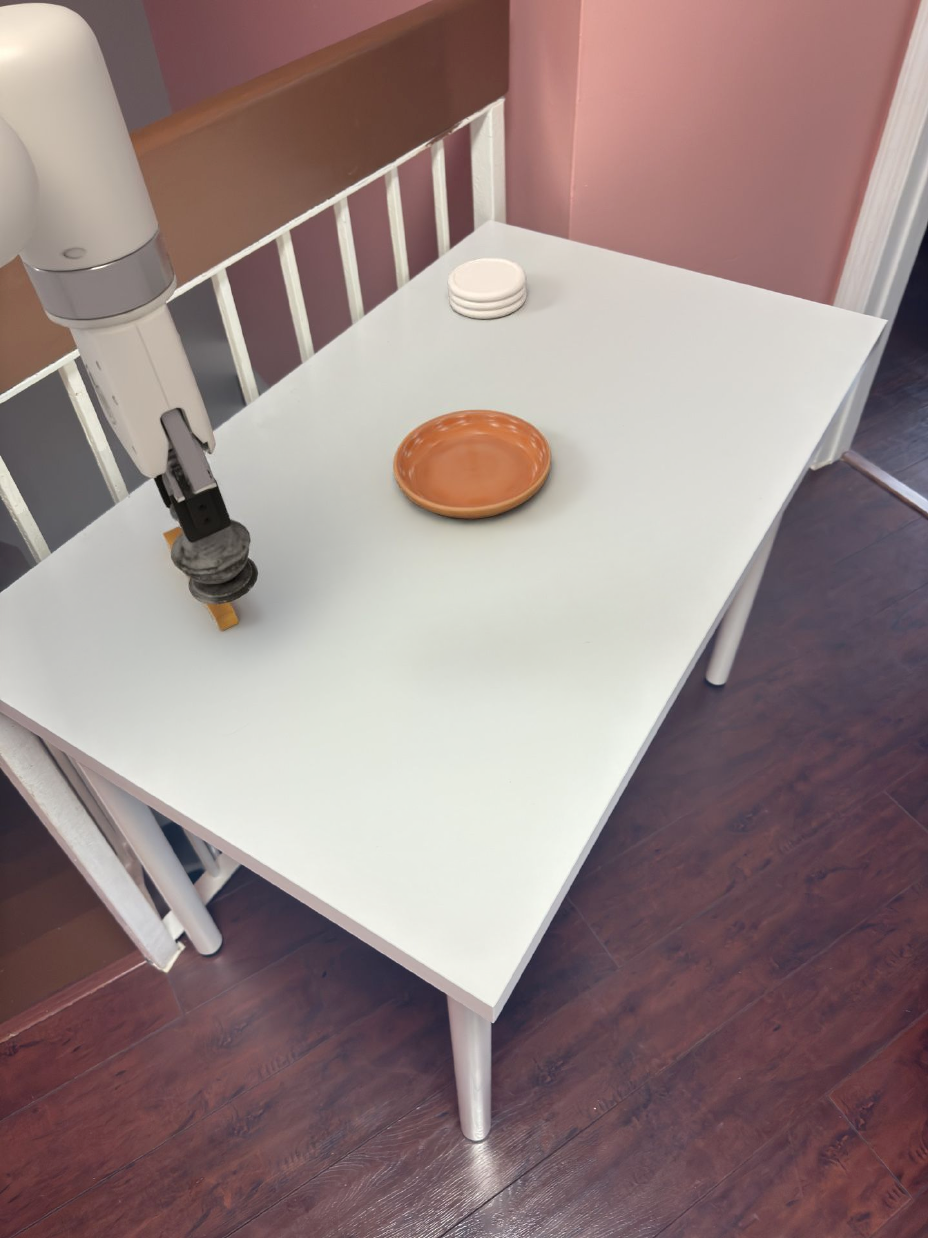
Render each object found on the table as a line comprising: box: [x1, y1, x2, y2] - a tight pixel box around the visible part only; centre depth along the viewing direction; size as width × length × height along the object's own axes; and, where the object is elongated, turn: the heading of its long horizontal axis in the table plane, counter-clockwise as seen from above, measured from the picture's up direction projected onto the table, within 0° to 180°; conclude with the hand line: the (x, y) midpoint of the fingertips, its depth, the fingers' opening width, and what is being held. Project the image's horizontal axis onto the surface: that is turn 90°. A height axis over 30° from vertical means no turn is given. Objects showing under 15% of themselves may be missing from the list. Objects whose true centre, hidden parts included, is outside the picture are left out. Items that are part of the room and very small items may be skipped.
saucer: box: [392, 409, 552, 520], centre depth 93 cm, size 16×16×3 cm
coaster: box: [447, 257, 528, 320], centre depth 117 cm, size 10×10×4 cm
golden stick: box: [162, 525, 240, 632], centre depth 86 cm, size 2×14×2 cm, turn 32°
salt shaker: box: [162, 465, 259, 604], centre depth 65 cm, size 6×6×12 cm
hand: (197, 513), depth 65 cm, fingers closed on salt shaker, 3 cm apart
